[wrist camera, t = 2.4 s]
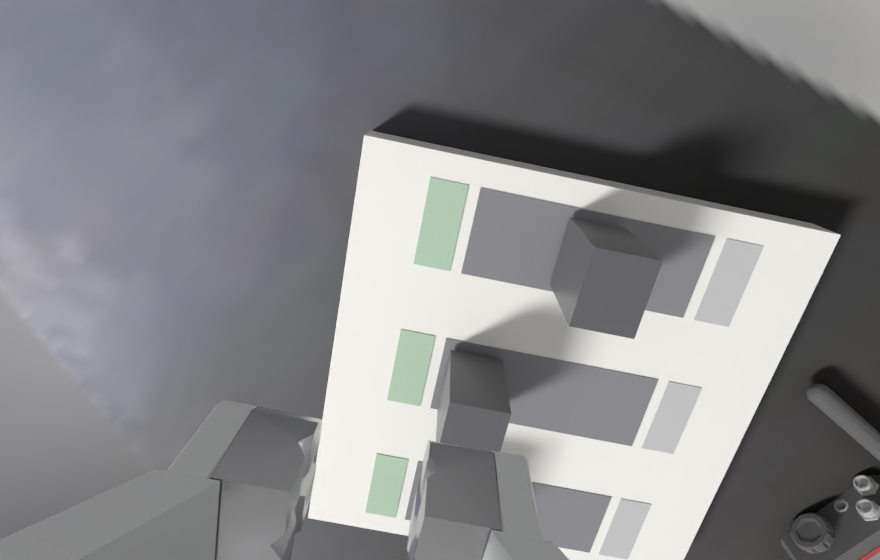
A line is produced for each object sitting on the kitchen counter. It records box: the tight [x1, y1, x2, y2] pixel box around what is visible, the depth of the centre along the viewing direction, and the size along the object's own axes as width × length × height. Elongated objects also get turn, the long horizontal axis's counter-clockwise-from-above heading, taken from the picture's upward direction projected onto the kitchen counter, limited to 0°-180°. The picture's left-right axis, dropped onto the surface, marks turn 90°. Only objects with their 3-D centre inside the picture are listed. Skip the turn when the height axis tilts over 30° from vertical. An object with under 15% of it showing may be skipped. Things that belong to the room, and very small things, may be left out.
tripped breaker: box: [550, 217, 663, 339], centre depth 20 cm, size 2×3×4 cm
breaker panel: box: [308, 131, 841, 560], centre depth 26 cm, size 20×20×2 cm
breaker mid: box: [436, 350, 511, 452], centre depth 23 cm, size 2×3×4 cm
